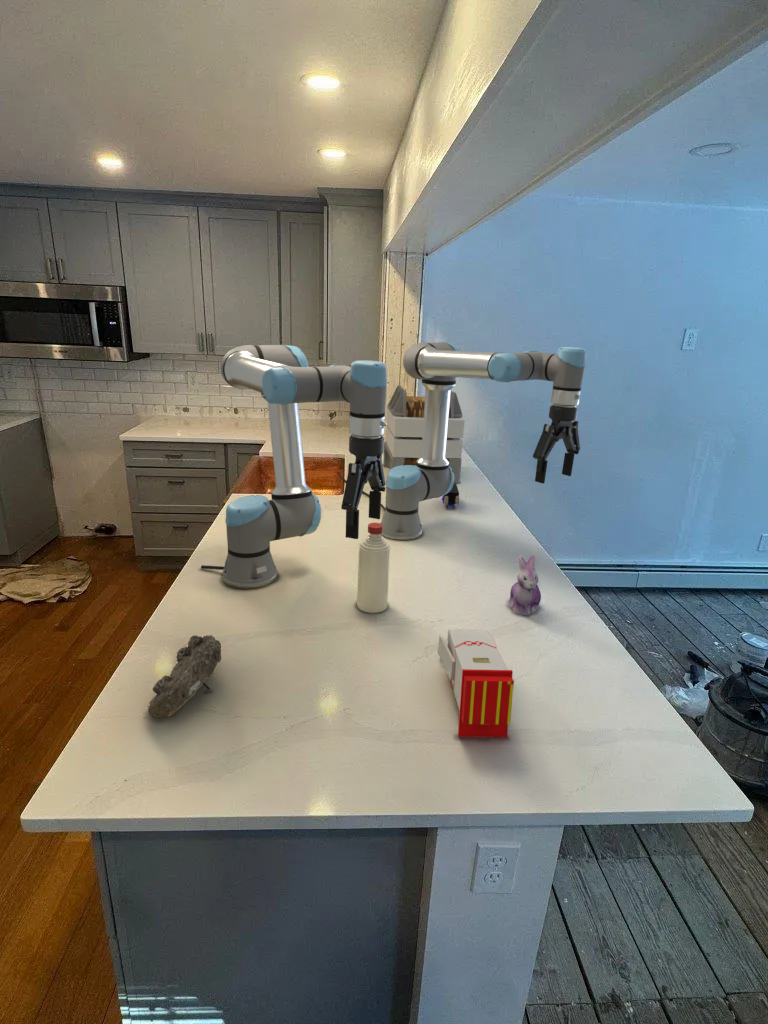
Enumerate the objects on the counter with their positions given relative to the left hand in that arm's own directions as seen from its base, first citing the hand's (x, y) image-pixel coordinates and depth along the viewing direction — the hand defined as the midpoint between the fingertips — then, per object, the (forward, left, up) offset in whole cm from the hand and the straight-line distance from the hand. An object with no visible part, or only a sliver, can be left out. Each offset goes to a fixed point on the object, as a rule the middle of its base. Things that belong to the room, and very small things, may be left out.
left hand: (363, 527), depth 129 cm
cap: (-3, +14, -5) cm, 15 cm away
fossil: (-23, -34, -28) cm, 49 cm away
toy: (+30, -11, -28) cm, 42 cm away
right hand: (+36, +55, +3) cm, 66 cm away
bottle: (-3, +14, -28) cm, 31 cm away
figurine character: (-5, +104, -28) cm, 108 cm away
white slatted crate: (-30, +144, -28) cm, 149 cm away
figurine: (+35, +30, -28) cm, 54 cm away
